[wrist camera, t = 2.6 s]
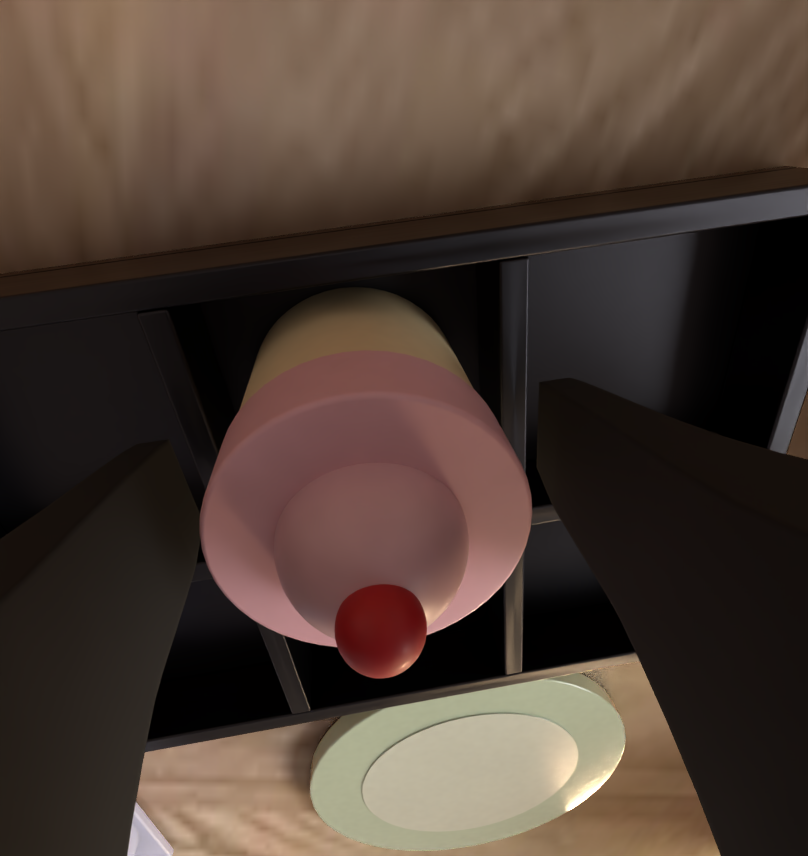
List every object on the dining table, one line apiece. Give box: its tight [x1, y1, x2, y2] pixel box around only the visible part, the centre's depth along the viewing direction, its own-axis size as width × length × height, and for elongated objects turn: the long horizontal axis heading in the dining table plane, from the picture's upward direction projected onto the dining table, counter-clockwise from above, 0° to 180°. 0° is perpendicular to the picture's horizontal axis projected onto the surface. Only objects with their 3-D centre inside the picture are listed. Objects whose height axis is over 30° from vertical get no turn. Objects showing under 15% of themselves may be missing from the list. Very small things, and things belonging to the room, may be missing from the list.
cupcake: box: [199, 287, 532, 678], centre depth 10 cm, size 5×5×8 cm
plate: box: [310, 673, 626, 851], centre depth 23 cm, size 14×14×1 cm
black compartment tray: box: [0, 166, 808, 752], centre depth 14 cm, size 14×21×2 cm
